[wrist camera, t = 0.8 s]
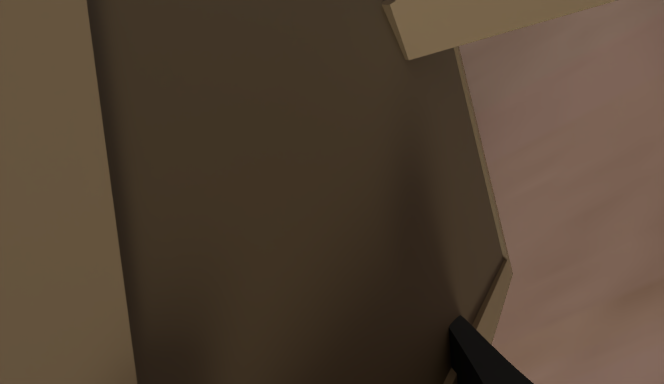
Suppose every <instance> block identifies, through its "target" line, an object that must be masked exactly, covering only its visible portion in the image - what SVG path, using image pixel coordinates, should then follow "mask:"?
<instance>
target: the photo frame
mask: <svg viewBox="0 0 664 384" xmlns="http://www.w3.org/2000/svg"><path fill="white" fill-rule="evenodd" d="M613 1H617V0H0V384H458V383H457V373H456V372H455V371H454V370H453V369H452V367H451V354H450V339H449V326H450V324H451V323H452V322H453V321H454V320H455V319H456V318H457V317H458V316H460V315H461V316H462V317H464V318H465V319H466V320H467V321H468V322H469V323H470V324H471V325H472V326H473V327H474V328H475V329H476V330H477V331H478V332H479V333H480V334H481V335H482V336H483V337H484V338H485V339H486V340H487V341H488V342H489V343H490V344H492V341H493V338H494V334H495V331H496V328H497V325H498V321H499V318H500V315H501V311H502V308H503V305H504V301H505V298H506V295H507V291H508V288H509V285H510V281H511V278H512V275H513V272H512V268H511V264H510V260H509V256H508V251H507V247H506V243H505V239H504V235H503V230H502V226H501V222H500V218H499V214H498V209H497V205H496V201H495V197H494V193H493V188H492V184H491V180H490V176H489V172H488V167H487V163H486V159H485V155H484V151H483V146H482V142H481V138H480V134H479V130H478V125H477V121H476V117H475V113H474V109H473V104H472V100H471V96H470V92H469V88H468V83H467V79H466V75H465V71H464V66H463V62H462V58H461V54H460V50H459V46H460V45H464V44H467V43H471V42H474V41H478V40H481V39H485V38H488V37H492V36H495V35H499V34H502V33H506V32H509V31H513V30H516V29H520V28H523V27H527V26H530V25H533V24H537V23H540V22H544V21H547V20H551V19H554V18H558V17H561V16H565V15H568V14H572V13H575V12H579V11H582V10H586V9H589V8H593V7H596V6H599V5H603V4H606V3H610V2H613Z"/></svg>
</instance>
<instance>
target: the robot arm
mask: <svg viewBox="0 0 664 384" xmlns="http://www.w3.org/2000/svg"><path fill="white" fill-rule="evenodd" d="M449 339H450V354H451V367H452V369H453V370H454V371H455V372H456V373H457V383H458V384H533V383H532V382H531V381H530V380H529V379H528V378H526V377H525V376H524V375H523V374H522V373H521V372H519V371H518V370H517V369H516V368H515V367H514V366H513V365H512V364H511V363H510V362H508V361H507V360H506V359H505V358H504V357H503V356H502V355H501V354H500V353H499V352H498V351H497V350H496V349H495V348H494V347H493V346H492V345H491V344H490V343H489V342H488V341H487V340H486V339H485V338H484V337H483V336H482V335H481V334H480V333H479V332H478V331H477V330H476V329H475V328H474V327H473V326H472V325H471V324H470V323H469V322H468V321H467V320H466V319H465V318H464V317H462V316H461V315H460V316H458V317H457V318H456V319H455V320H454V321H453V322H452V323H451V324H450V326H449Z"/></svg>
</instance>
